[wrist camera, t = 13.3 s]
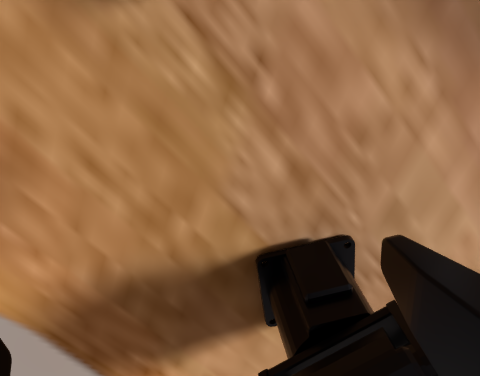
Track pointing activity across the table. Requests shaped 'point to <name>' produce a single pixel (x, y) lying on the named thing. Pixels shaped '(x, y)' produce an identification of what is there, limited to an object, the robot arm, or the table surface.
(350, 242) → the robot arm
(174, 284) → the table surface
